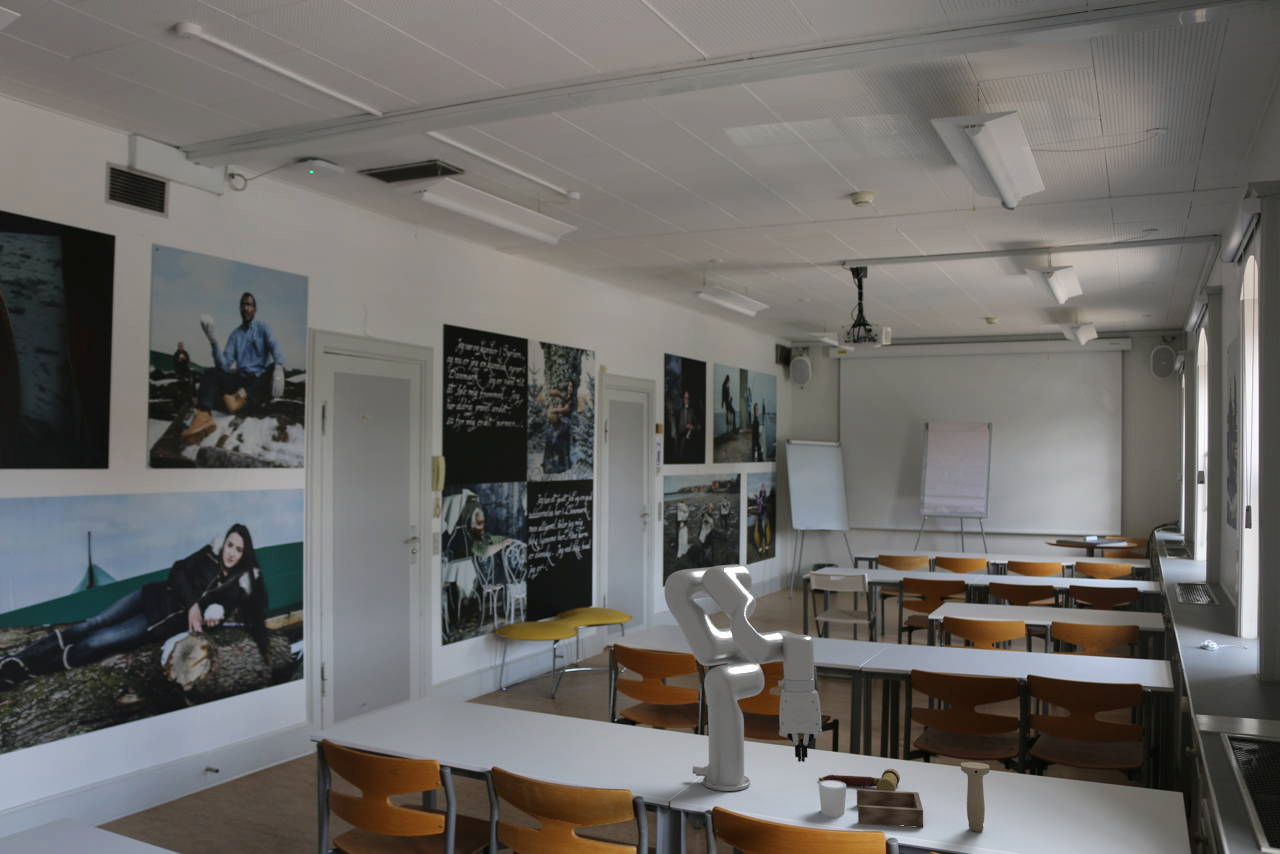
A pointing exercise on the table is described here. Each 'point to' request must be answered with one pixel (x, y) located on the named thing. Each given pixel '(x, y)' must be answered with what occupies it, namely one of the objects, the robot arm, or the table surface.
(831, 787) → the white short tapered cylinder
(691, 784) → the table surface
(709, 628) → the robot arm
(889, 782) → the gavel
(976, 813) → the handle
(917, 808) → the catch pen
